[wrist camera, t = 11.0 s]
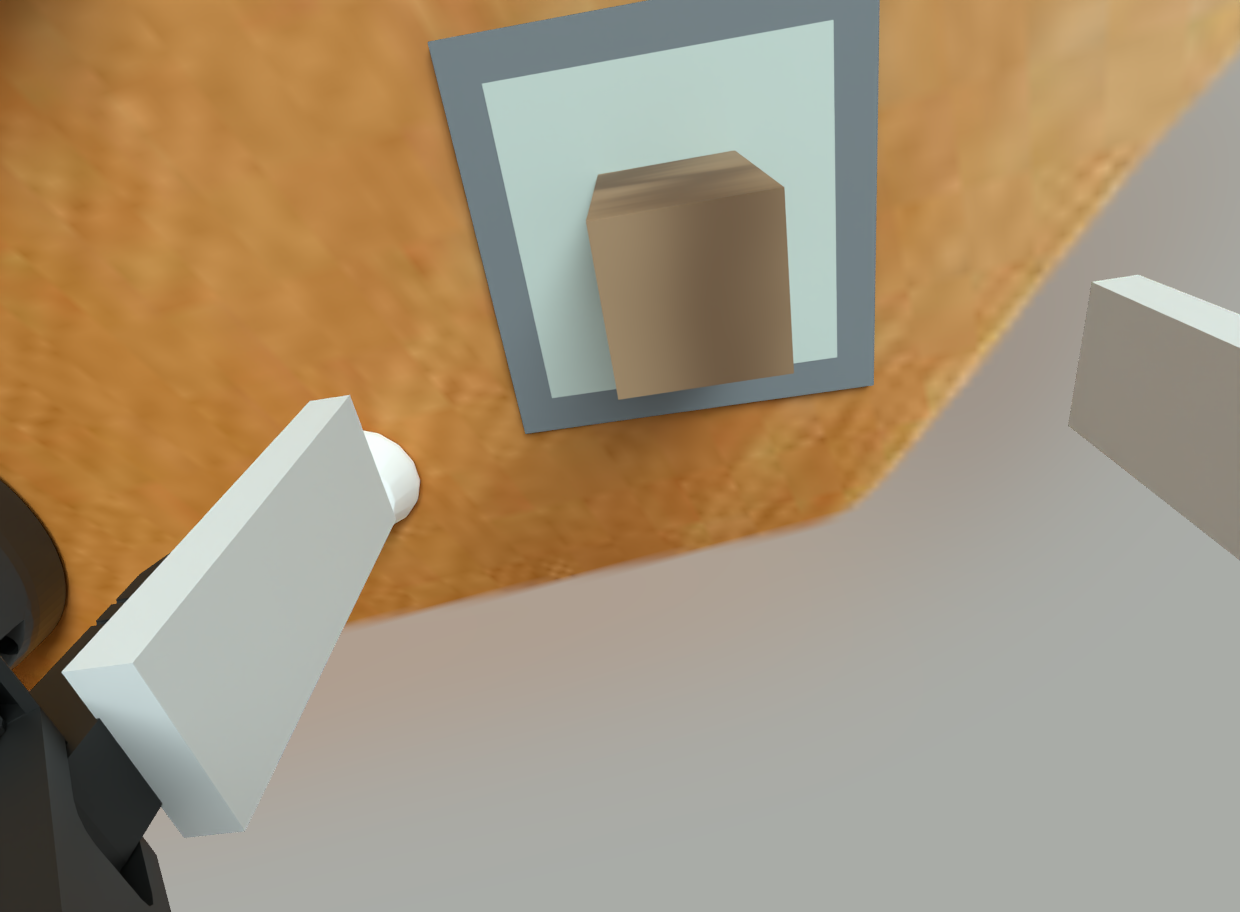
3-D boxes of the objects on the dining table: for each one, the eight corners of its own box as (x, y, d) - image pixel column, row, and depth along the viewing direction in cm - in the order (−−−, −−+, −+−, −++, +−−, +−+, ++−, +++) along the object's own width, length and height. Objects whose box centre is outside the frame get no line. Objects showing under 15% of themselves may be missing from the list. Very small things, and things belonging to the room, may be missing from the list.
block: (620, 307, 28) (618, 399, 20) (597, 174, 26) (586, 221, 18) (746, 286, 28) (794, 373, 20) (734, 150, 25) (784, 186, 17)
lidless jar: (289, 459, 32) (363, 535, 34) (260, 493, 30) (341, 573, 32) (371, 406, 31) (443, 489, 33) (348, 437, 28) (428, 524, 30)
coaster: (526, 429, 31) (525, 434, 31) (430, 42, 24) (427, 42, 24) (870, 381, 30) (873, 385, 30) (876, -42, 23) (880, -44, 23)
